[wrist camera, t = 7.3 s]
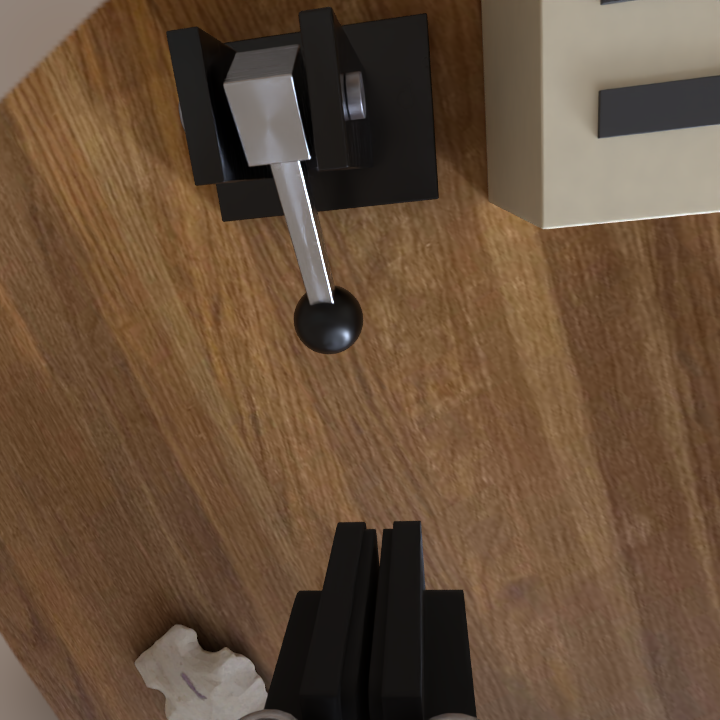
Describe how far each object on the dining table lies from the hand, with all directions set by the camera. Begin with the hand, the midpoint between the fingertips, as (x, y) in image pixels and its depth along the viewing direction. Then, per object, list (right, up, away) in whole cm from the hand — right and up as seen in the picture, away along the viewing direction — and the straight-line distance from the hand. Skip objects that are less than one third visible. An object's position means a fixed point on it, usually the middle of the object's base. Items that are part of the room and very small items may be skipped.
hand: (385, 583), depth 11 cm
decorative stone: (-10, -19, +30) cm, 37 cm away
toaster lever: (-3, +11, +12) cm, 17 cm away
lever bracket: (-2, +16, +17) cm, 23 cm away
